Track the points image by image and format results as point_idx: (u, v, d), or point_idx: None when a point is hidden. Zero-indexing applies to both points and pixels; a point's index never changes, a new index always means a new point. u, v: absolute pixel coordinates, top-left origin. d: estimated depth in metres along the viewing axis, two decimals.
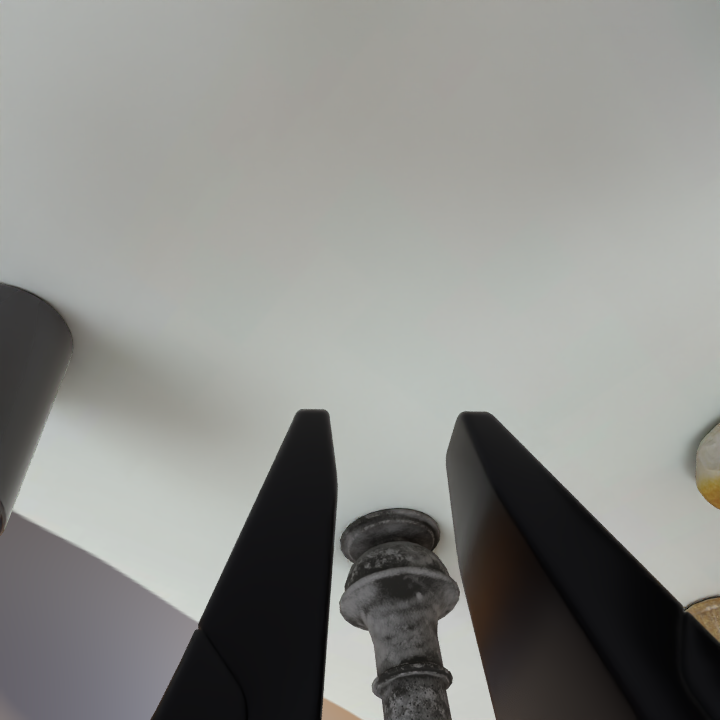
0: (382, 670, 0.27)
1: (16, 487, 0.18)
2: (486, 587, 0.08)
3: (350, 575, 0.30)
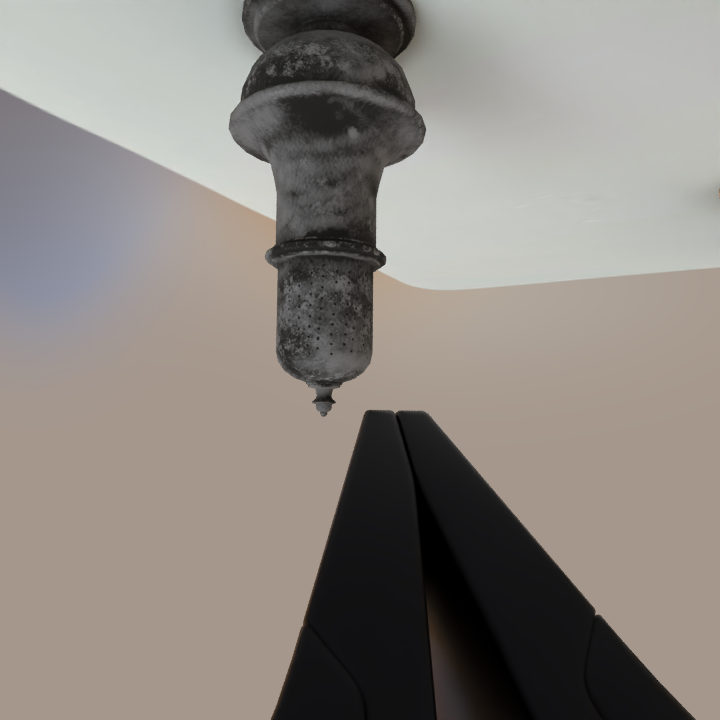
0: (280, 239, 0.18)
1: None
2: None
3: (246, 82, 0.18)
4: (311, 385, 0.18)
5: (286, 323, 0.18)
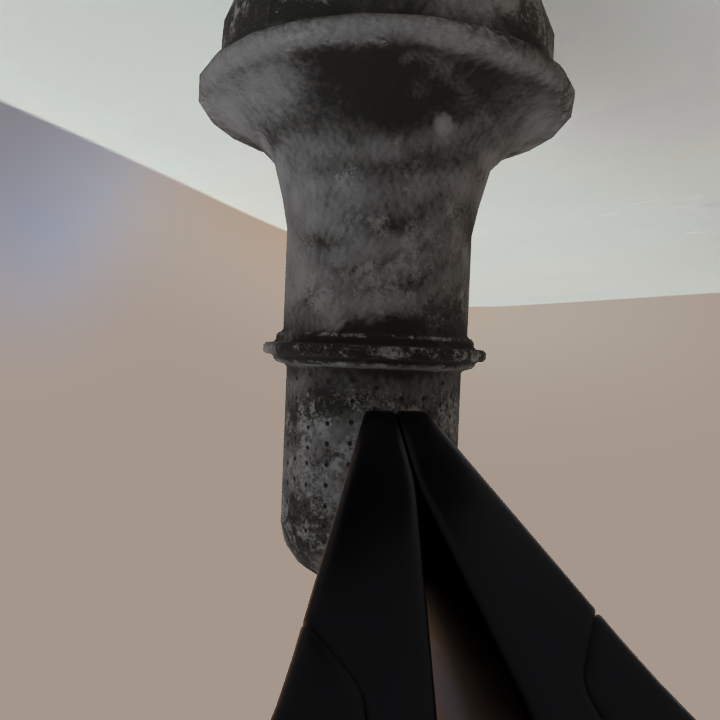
0: (292, 325, 0.10)
1: None
2: None
3: (231, 12, 0.09)
4: None
5: (301, 487, 0.09)
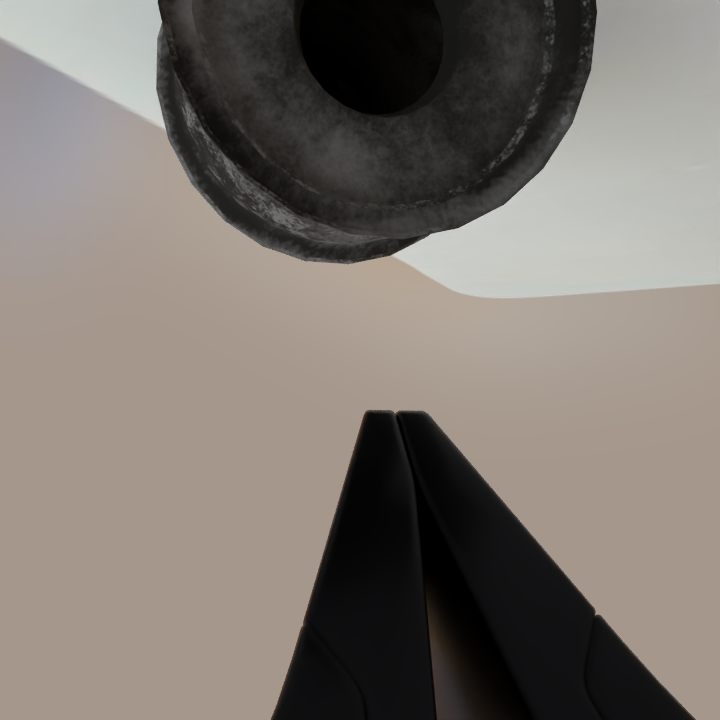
0: None
1: None
2: None
3: (179, 91, 0.09)
4: None
5: None
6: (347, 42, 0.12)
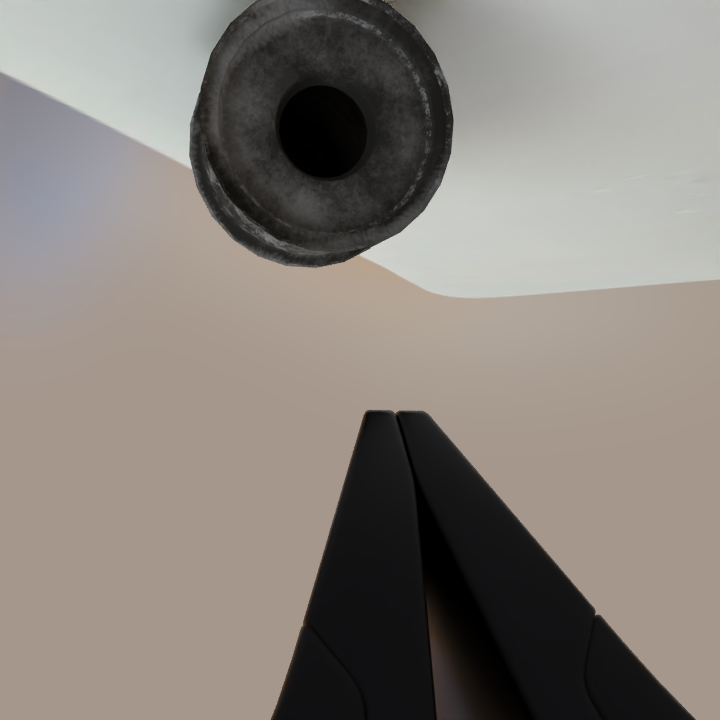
0: None
1: None
2: None
3: (205, 160, 0.15)
4: None
5: None
6: (316, 115, 0.18)
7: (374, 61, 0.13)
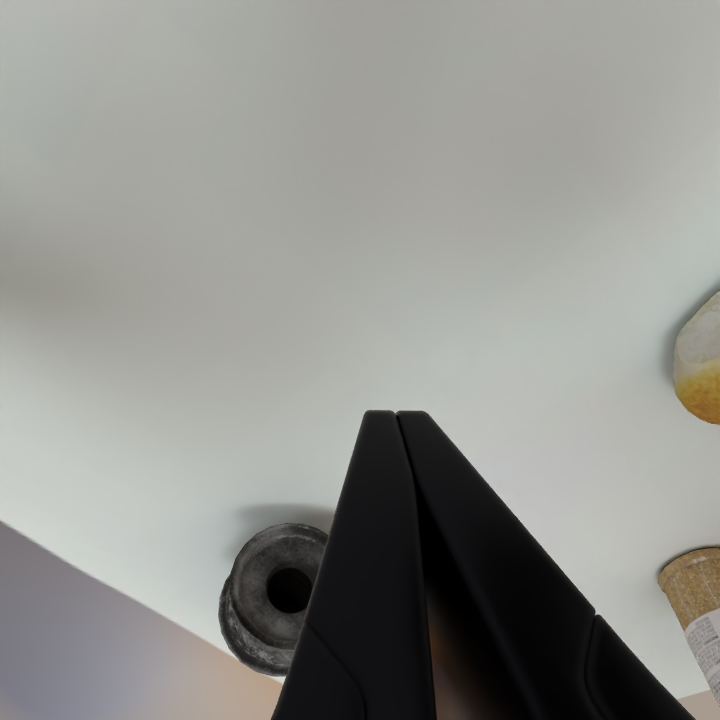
0: None
1: None
2: None
3: (228, 614, 0.28)
4: None
5: None
6: (289, 588, 0.32)
7: (313, 553, 0.28)
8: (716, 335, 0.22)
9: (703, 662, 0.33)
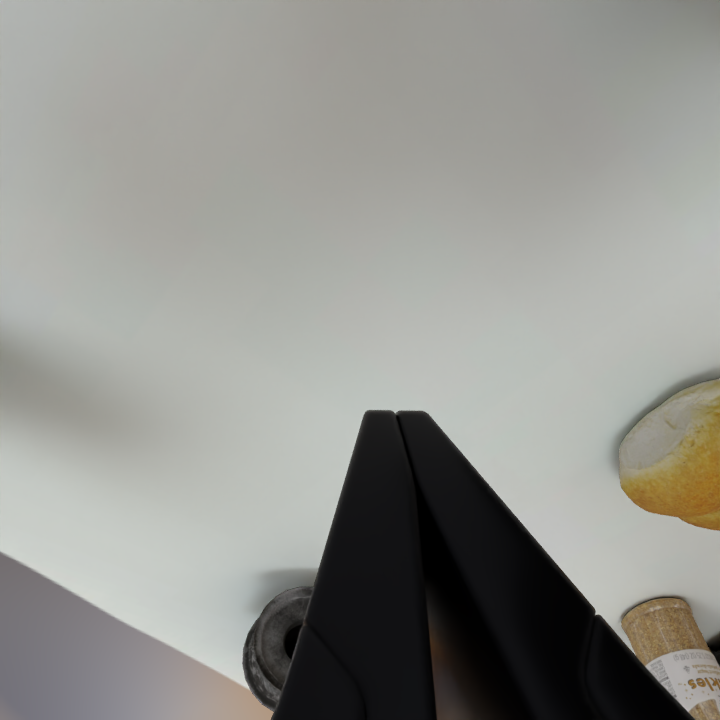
0: None
1: None
2: None
3: (251, 663, 0.33)
4: None
5: None
6: None
7: None
8: (649, 447, 0.28)
9: None
